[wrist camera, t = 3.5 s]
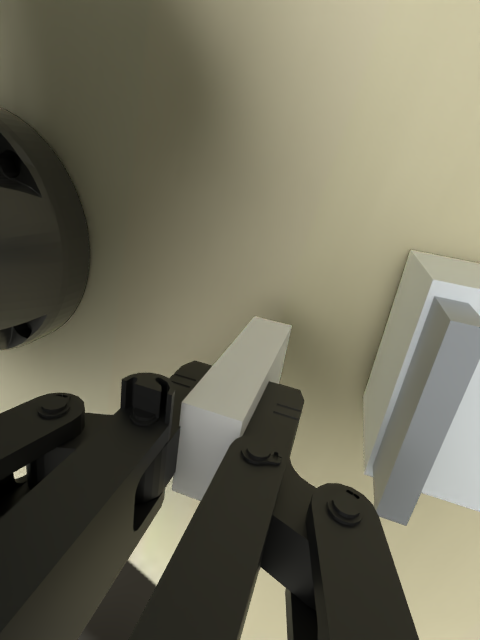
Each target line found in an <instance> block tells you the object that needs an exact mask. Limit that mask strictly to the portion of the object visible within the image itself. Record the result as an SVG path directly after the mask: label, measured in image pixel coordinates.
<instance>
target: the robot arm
mask: <svg viewBox="0 0 480 640" xmlns="http://www.w3.org/2000/svg"><path fill="white" fill-rule="evenodd" d="M89 259H90V251H89V237H88V231H87V225H86V220H85V216H84V213H83V209H82V206H81V203H80V200H79V197H78V195H77V192H76V190H75V187H74V185H73V183H72V181H71V179H70V177H69V175H68V173H67V172H66V170H65V168H64V167H63V165H62V163H61V162H60V160H59V159H58V157H57V156H56V154H55V153H54V152H53V150H52V149H51V148H50V147H49V145H48V144H47V143H46V142H45V141H44V140H43V139H42V137H41V136H40V135H39V134H38V133H37V132H36V131H34V130H33V129H32V128H31V127H30V126H29V125H28V124H26V123H25V122H24V121H23V120H21V119H20V118H18V117H17V116H15V115H14V114H12V113H11V112H9V111H7V110H5V109H3V108H1V107H0V351H1V350H8V349H13V348H17V347H20V346H23V345H26V344H28V343H30V342H33V341H35V340H37V339H39V338H41V337H43V336H45V335H47V334H49V333H51V332H53V331H55V330H56V329H58V328H59V327H61V326H62V325H63V324H64V323H65V322H66V321H67V320H68V319H69V318H70V317H71V316H72V314H73V313H74V311H75V310H76V308H77V306H78V305H79V303H80V301H81V298H82V296H83V293H84V290H85V287H86V283H87V278H88V272H89ZM291 328H292V325H288V324H284V323H280V322H276V321H272V320H268V319H265V318H261V317H257V316H254V317H253V318H252V320H251V321H250V322H249V323H248V324H247V326H246V327H245V328H244V329H243V330H242V331H241V333H240V334H239V335H238V336H237V337H236V339H235V340H234V341H233V342H232V343H231V344H230V346H229V347H228V348H227V349H226V350H225V352H224V353H223V354H222V355H221V356H220V358H219V359H218V360H217V361H216V362H215V363H214V365H213V366H211V365H208V364H205V363H201V362H198V361H193V362H190V363H188V364H185V365H183V366H181V367H180V368H179V369H178V370H177V371H176V372H175V374H174V375H172V376H171V377H170V378H167V377H164V376H162V375H160V374H154V373H137V374H133V375H129V376H127V377H125V378H124V379H122V387H121V408H120V409H119V410H118V411H117V412H116V413H115V414H114V415H103V414H93V413H85V407H84V402H83V401H82V400H81V399H80V398H79V397H78V396H75V395H72V394H69V393H51V394H46V395H43V396H40V397H37V398H34V399H32V400H30V401H28V402H25V403H23V404H21V405H19V406H16V407H14V408H12V409H9V410H7V411H5V412H3V413H0V640H78V638H79V636H80V635H81V633H82V632H83V630H84V628H85V627H86V625H87V624H88V622H89V621H90V619H91V617H92V616H93V614H94V613H95V611H96V609H97V608H98V606H99V605H100V603H101V601H102V600H103V598H104V596H105V595H106V594H107V592H108V590H109V588H110V587H111V586H112V584H113V582H114V581H115V579H116V577H117V576H118V574H119V573H120V571H121V570H122V568H123V566H124V565H125V563H126V562H127V560H128V559H129V557H130V555H131V554H132V552H133V551H134V549H135V547H136V546H137V544H138V543H139V541H140V539H141V538H142V536H143V535H144V533H145V532H146V530H147V528H148V527H149V525H150V524H151V522H152V520H153V519H154V517H155V516H156V514H157V512H158V511H159V509H160V508H161V506H162V503H163V500H164V494H165V487H166V486H167V484H168V483H169V481H170V480H171V478H172V477H173V485H172V490H173V491H175V492H178V493H181V494H183V495H186V496H188V497H191V498H194V499H196V500H199V501H201V502H200V504H199V506H198V508H197V509H196V511H195V513H194V515H193V517H192V519H191V521H190V523H189V525H188V527H187V529H186V530H185V532H184V534H183V536H182V538H181V540H180V542H179V544H178V546H177V548H176V550H175V552H174V553H173V555H172V557H171V559H170V561H169V563H168V565H167V567H166V569H165V571H164V573H163V575H162V576H161V578H160V580H159V582H158V584H157V586H156V588H155V590H154V592H153V594H152V596H151V598H150V599H149V602H148V603H147V605H146V607H145V609H144V611H143V613H142V615H141V617H140V619H139V621H138V622H137V624H136V626H135V628H134V630H133V632H132V634H131V636H130V638H129V640H240V638H241V634H242V630H243V627H244V623H245V620H246V616H247V612H248V609H249V605H250V601H251V598H252V594H253V591H254V587H255V583H256V580H257V576H258V572H259V570H260V567H261V568H263V569H264V570H265V571H266V572H268V573H269V574H270V575H271V576H272V577H274V578H275V579H276V580H277V581H278V582H280V583H281V584H282V585H283V586H284V587H286V591H285V596H286V618H287V639H288V640H419V638H418V635H417V632H416V629H415V626H414V623H413V619H412V616H411V613H410V610H409V607H408V604H407V601H406V598H405V595H404V592H403V589H402V586H401V583H400V580H399V577H398V574H397V571H396V568H395V565H394V561H393V558H392V555H391V552H390V549H389V546H388V543H387V540H386V537H385V534H384V531H383V528H382V525H381V522H380V519H379V516H378V514H377V512H376V510H375V508H374V506H373V504H372V503H371V502H370V501H369V500H368V499H367V498H366V497H365V496H364V495H363V494H361V493H360V492H358V491H356V490H355V489H353V488H351V487H348V486H345V485H342V484H338V483H327V484H324V485H322V486H319V487H318V488H315V487H314V486H312V485H311V484H309V483H308V482H306V481H305V480H304V479H302V478H301V477H300V476H299V475H298V474H297V473H296V471H295V470H294V468H293V467H292V465H291V461H290V454H291V450H292V447H293V443H294V439H295V435H296V431H297V427H298V423H299V419H300V416H301V412H302V408H303V404H304V399H303V396H302V394H301V391H300V390H298V389H294V388H291V387H288V386H284V385H281V384H279V383H280V378H281V374H282V369H283V365H284V360H285V355H286V351H287V346H288V342H289V337H290V333H291ZM24 466H26V469H27V474H26V475H25V476H23V477H20V478H18V479H14V475H13V473H14V472H15V471H17V470H19V469H20V468H22V467H24ZM173 475H174V476H173Z"/></svg>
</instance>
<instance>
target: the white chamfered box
mask: <svg viewBox="0 0 480 640" xmlns="http://www.w3.org/2000/svg"><path fill="white" fill-rule="evenodd" d="M363 437H364V474H365V475H368V476H371V477H373V486H374V508H375V510H376V512H377V514H378V516H379V517H382V518H385V519H388V520H391V521H394V522H396V523H399V524H402V525H405V526H407V523H408V521H409V519H410V517H411V514H412V512H413V510H414V507H415V505H416V503H417V501H418V498H419V496H420V494H421V493H423V494H426V495H429V496H433V497H436V498H439V499H442V500H445V501H448V502H451V503H454V504H457V505H460V506H463V507H466V508H470V509H473V510H476V511H479V512H480V263H476V262H471V261H466V260H461V259H456V258H451V257H445V256H440V255H435V254H430V253H425V252H420V251H414V250H410V253H409V256H408V259H407V262H406V265H405V268H404V271H403V274H402V278H401V281H400V284H399V287H398V290H397V293H396V296H395V299H394V302H393V306H392V309H391V312H390V315H389V318H388V321H387V324H386V327H385V330H384V333H383V337H382V340H381V343H380V346H379V349H378V352H377V355H376V358H375V361H374V365H373V368H372V371H371V374H370V377H369V380H368V383H367V386H366V389H365V392H364V396H363Z"/></svg>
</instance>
